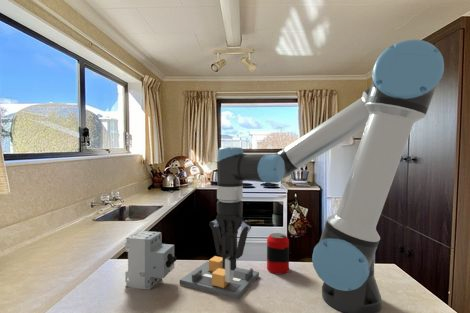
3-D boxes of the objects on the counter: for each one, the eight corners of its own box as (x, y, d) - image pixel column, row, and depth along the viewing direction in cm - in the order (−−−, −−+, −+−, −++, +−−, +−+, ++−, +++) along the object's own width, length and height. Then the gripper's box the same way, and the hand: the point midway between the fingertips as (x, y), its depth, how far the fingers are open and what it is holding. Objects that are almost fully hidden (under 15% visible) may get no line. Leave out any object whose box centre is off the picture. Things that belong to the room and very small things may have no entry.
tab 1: (225, 268, 92) (225, 257, 92) (219, 272, 88) (219, 262, 88) (214, 266, 94) (214, 256, 94) (208, 270, 90) (208, 260, 90)
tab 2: (230, 282, 82) (230, 270, 82) (223, 287, 79) (223, 275, 79) (218, 279, 84) (218, 268, 84) (211, 284, 80) (211, 273, 80)
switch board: (258, 276, 90) (258, 265, 90) (237, 299, 75) (237, 287, 75) (207, 265, 99) (207, 255, 99) (179, 284, 84) (179, 273, 84)
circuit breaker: (169, 291, 80) (168, 240, 80) (125, 286, 83) (125, 237, 83) (179, 280, 87) (179, 233, 87) (138, 275, 90) (138, 230, 90)
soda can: (284, 276, 90) (284, 240, 90) (263, 271, 94) (263, 236, 94) (292, 268, 96) (292, 234, 96) (272, 263, 100) (272, 231, 100)
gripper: (255, 199, 80) (254, 279, 81) (216, 196, 86) (216, 270, 86) (244, 204, 73) (244, 290, 74) (204, 200, 79) (203, 280, 80)
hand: (229, 279), depth 80 cm, fingers closed
